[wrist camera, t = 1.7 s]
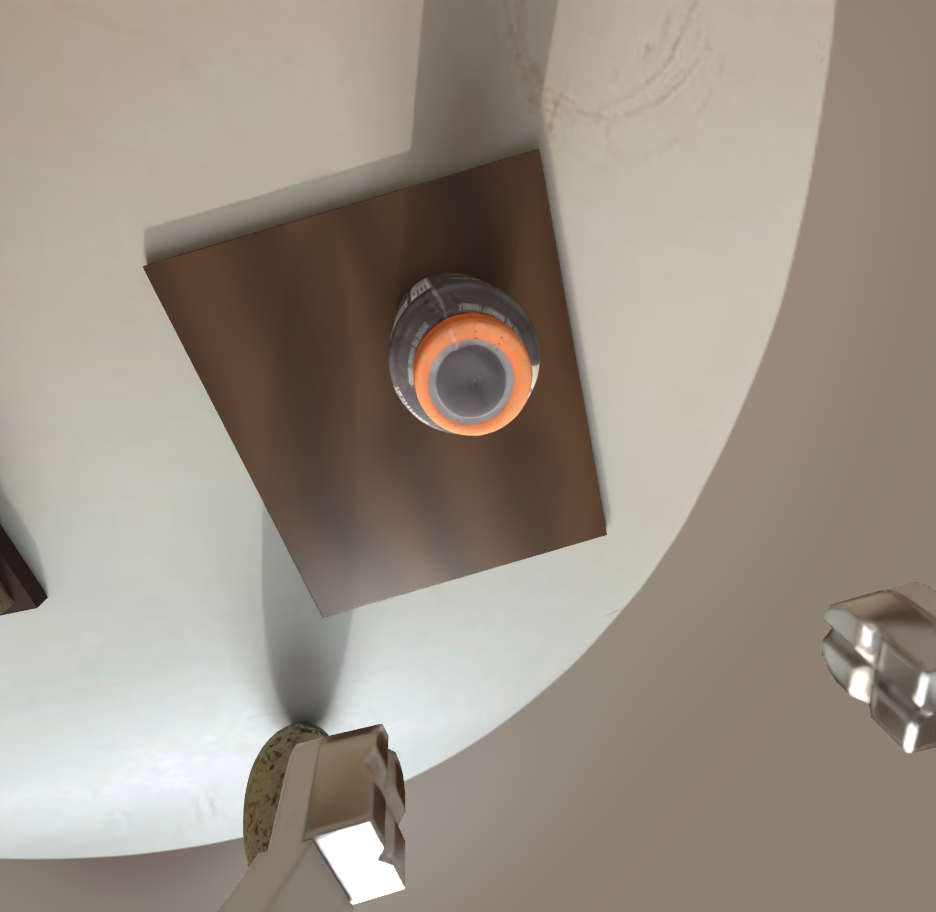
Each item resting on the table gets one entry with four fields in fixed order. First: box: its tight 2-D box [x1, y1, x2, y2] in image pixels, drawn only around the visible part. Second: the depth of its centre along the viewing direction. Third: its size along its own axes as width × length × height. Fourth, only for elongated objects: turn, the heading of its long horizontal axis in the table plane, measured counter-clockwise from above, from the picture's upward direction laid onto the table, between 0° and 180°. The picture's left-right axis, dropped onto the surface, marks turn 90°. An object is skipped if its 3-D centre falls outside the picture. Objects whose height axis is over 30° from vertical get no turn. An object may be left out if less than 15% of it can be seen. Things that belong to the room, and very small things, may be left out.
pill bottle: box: [388, 272, 540, 436], centre depth 21 cm, size 6×6×11 cm
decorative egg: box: [243, 723, 329, 867], centre depth 33 cm, size 6×6×10 cm
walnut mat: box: [143, 149, 607, 618], centre depth 28 cm, size 20×23×1 cm
